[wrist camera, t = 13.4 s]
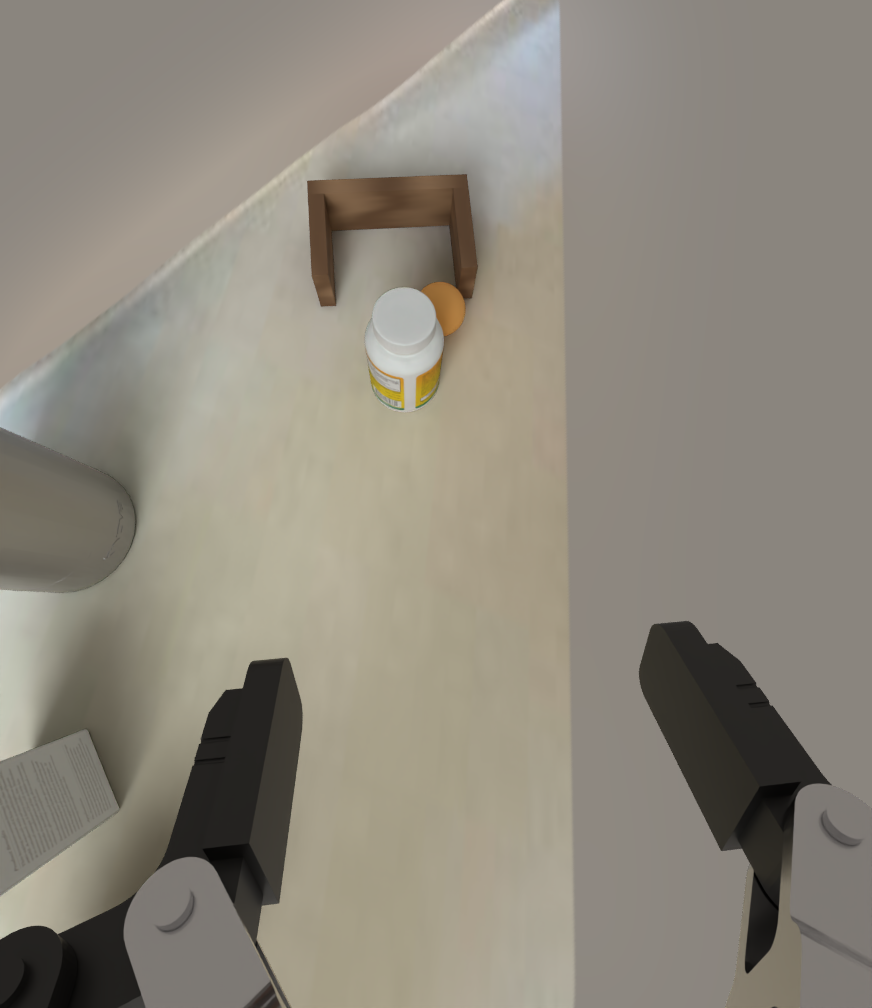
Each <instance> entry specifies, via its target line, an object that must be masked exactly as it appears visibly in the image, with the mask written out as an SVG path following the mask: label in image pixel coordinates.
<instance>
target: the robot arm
mask: <svg viewBox="0 0 872 1008" xmlns="http://www.w3.org/2000/svg"><path fill="white" fill-rule="evenodd" d="M134 532H135V514H134V508H133V505H132V502H131V500H130V497H129V496H128V494H127V493H126V491H125V490H124V488H123V487H122V486H121V485H120V484H119V483H118V482H117V481H116V480H115V479H114V478H112V477H110V476H108V475H106V474H105V473H103V472H101V471H98V470H96V469H94V468H92V467H89V466H87V465H85V464H82V463H80V462H78V461H76V460H73V459H71V458H69V457H67V456H65V455H63V454H60V453H58V452H56V451H53V450H51V449H49V448H47V447H44V446H42V445H40V444H37V443H35V442H33V441H31V440H28V439H26V438H24V437H21V436H19V435H17V434H15V433H12V432H10V431H8V430H5V429H3V428H1V427H0V590H13V591H33V592H55V593H65V592H74V591H78V590H82V589H85V588H88V587H91V586H92V585H94V584H96V583H98V582H100V581H102V580H103V579H104V578H106V577H107V576H108V575H109V574H111V573H112V572H113V571H114V570H115V569H116V568H117V567H118V565H119V564H120V563H121V562H122V561H123V559H124V558H125V556H126V554H127V552H128V550H129V549H130V546H131V543H132V540H133V537H134ZM639 679H640V685H641V689H642V692H643V694H644V697H645V699H646V701H647V703H648V705H649V707H650V709H651V711H652V713H653V715H654V717H655V719H656V721H657V723H658V725H659V727H660V729H661V731H662V733H663V735H664V737H665V739H666V741H667V743H668V745H669V747H670V749H671V751H672V753H673V755H674V757H675V759H676V761H677V763H678V765H679V767H680V769H681V771H682V773H683V775H684V777H685V779H686V781H687V783H688V785H689V787H690V789H691V791H692V793H693V795H694V797H695V799H696V801H697V803H698V805H699V807H700V809H701V811H702V813H703V815H704V817H705V819H706V821H707V823H708V825H709V827H710V829H711V831H712V833H713V835H714V837H715V839H716V841H717V843H718V845H719V848H720V849H721V851H726V850H733V849H743V851H744V853H745V855H746V857H747V859H748V860H749V862H750V864H749V866H748V870H747V875H746V876H747V877H746V885H745V893H744V894H745V895H744V903H743V911H742V920H741V929H740V930H741V931H740V938H739V947H738V957H737V965H736V972H735V978H734V982H733V986H732V989H731V991H730V994H729V996H728V999H727V1003H726V1006H725V1008H872V809H871V808H870V807H869V806H868V805H867V804H866V803H864V802H863V801H862V800H860V799H859V798H858V797H856V796H854V795H853V794H851V793H849V792H847V791H845V790H843V789H840V788H838V787H835V786H832V785H831V784H830V783H829V782H828V781H827V779H826V778H825V777H824V776H823V775H822V773H821V772H820V770H819V769H818V768H817V766H816V765H815V764H814V762H813V761H812V759H811V758H810V757H809V755H808V754H807V753H806V751H805V750H804V748H803V747H802V746H801V744H800V743H799V742H798V740H797V739H796V737H795V736H794V735H793V733H792V732H791V730H790V729H789V728H788V726H787V725H786V724H785V722H784V721H783V719H782V718H781V717H780V715H779V714H778V713H777V711H776V710H775V708H774V707H773V706H770V704H769V700H768V699H767V698H766V696H765V695H764V693H763V692H762V690H761V689H760V688H758V687H757V686H756V682H755V681H754V680H753V678H752V677H751V675H750V674H749V672H748V671H747V670H746V668H745V667H744V666H743V664H742V663H741V662H740V661H739V660H738V659H737V658H736V657H734V656H733V655H732V654H731V653H729V652H728V651H727V650H725V649H724V648H723V647H722V646H720V645H719V644H718V643H715V644H707V643H706V641H705V640H704V638H703V637H702V635H701V634H700V632H699V631H698V629H697V628H696V627H695V625H693V624H692V623H691V622H689V621H683V622H671V623H661V624H654V625H653V626H652V627H651V629H650V632H649V636H648V639H647V643H646V646H645V650H644V654H643V657H642V661H641V664H640V668H639ZM301 733H302V704H301V699H300V695H299V692H298V688H297V685H296V681H295V678H294V674H293V671H292V667H291V664H290V661H289V659H288V658H280V659H269V660H259V661H252V662H251V663H250V665H249V667H248V670H247V674H246V678H245V682H244V686H243V688H242V689H232V690H225V692H224V693H223V694H222V696H221V697H220V699H219V700H218V701H217V703H216V704H215V705H214V707H213V708H212V709H211V711H210V712H209V714H208V717H207V720H206V724H205V727H204V730H203V734H202V737H201V744H199V747H198V750H197V753H196V757H195V760H194V761H195V764H194V766H192V770H191V773H190V776H189V780H188V783H187V786H186V789H185V793H184V796H183V799H182V803H181V806H180V809H179V812H178V816H177V819H176V822H175V825H174V829H173V832H172V835H171V839H170V842H169V845H168V848H167V851H166V853H165V856H164V858H163V860H162V862H161V864H160V865H159V867H158V868H157V870H156V871H155V873H154V874H153V875H151V876H150V877H149V878H148V879H147V881H146V882H145V883H144V884H143V885H142V886H141V888H140V889H139V890H138V892H136V893H135V894H134V895H133V896H132V897H130V898H129V899H128V900H126V901H125V902H123V903H122V904H120V905H118V906H116V907H114V908H113V909H110V910H108V911H106V912H104V913H102V914H100V915H98V916H96V917H94V918H91V919H89V920H87V921H85V922H83V923H81V924H79V925H77V926H75V927H72V928H70V929H68V930H66V931H64V932H62V933H60V934H57V933H55V932H54V931H53V930H52V929H50V928H47V927H44V926H30V927H26V928H23V929H20V930H17V931H15V932H13V933H11V934H9V935H7V936H6V937H4V938H2V939H1V940H0V1008H292V1007H291V1005H290V1003H289V1001H288V999H287V997H286V995H285V993H284V991H283V989H282V987H281V985H280V983H279V981H278V979H277V977H276V975H275V973H274V971H273V969H272V967H271V965H270V963H269V961H268V959H267V957H266V955H265V953H264V951H263V949H262V947H261V945H260V944H259V942H258V940H257V932H258V926H259V919H260V913H261V907H262V905H270V904H278V903H279V900H280V892H281V885H282V877H283V870H284V862H285V854H286V847H287V839H288V832H289V824H290V817H291V809H292V801H293V794H294V786H295V779H296V771H297V764H298V756H299V748H300V741H301Z"/></svg>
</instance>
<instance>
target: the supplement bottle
mask: <svg viewBox="0 0 872 1008" xmlns="http://www.w3.org/2000/svg"><path fill="white" fill-rule="evenodd" d="M443 347H444V335H443V330H442V327H441V325H440V323H439V321H438V320H437V318H436V311H435V308H434V305H433V304H432V302H431V300H430V299H429V298H428V297H427V296H426V295H425V294H424V293H422V292H420V291H418V290H416V289H413V288H409V287H399V288H394V289H391V290H389V291H387V292H385V293H384V294H383V295H382V296H380V297H379V299H378V300H377V301H376V303H375V305H374V308H373V312H372V318H371V320H370V321H369V323H368V325H367V328H366V332H365V349H366V355H367V361H368V367H369V373H370V379H371V385H372V389H373V391H374V394H375V396H376V397H377V399H378V400H379V401H380V402H381V403H382V404H383V405H385V406H386V407H388V408H389V409H392V410H394V411H398V412H412V411H416V410H418V409H421V408H423V407H424V406H425V405H426V404H428V403H429V402H430V401H431V400H432V398H433V397H434V395H435V393H436V391H437V388H438V384H439V376H440V369H441V361H442V355H443Z"/></svg>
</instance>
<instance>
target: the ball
mask: <svg viewBox="0 0 872 1008" xmlns="http://www.w3.org/2000/svg"><path fill="white" fill-rule="evenodd" d="M420 292H422V293H424V294H425V295H426V296H427V297H428V298H429V299H430V300H431V302H432V304H433V305H434V308H435V311H436V318H437V320H438V321H439V323H440V325H441V327H442V330H443V335H444V336H447V335H449V334H451V333H453V332H455V331H456V330H457V329H458V328H459V327H460V325H461V324H462V322H463V319H464V316H465V302H464V299H463V296H462V295H461V293H460V292H459V290H458V289H457V288H455V287H454V286H453V285H451V284H449V283H445V282H434V283H431V284H429V285H427V286H426V287H424V288H423V289H422V290H421V291H420Z"/></svg>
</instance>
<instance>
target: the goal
mask: <svg viewBox="0 0 872 1008" xmlns="http://www.w3.org/2000/svg"><path fill="white" fill-rule="evenodd" d="M307 185H308V206H309V227H310V248H311V269H312V278H313V281H314V284H315V288H316V291H317V294H318V298H319V301H320V304H321V306H336V298H335V280H334V263H333V245H332V231H336V230H358V229H380V228H401V227H423V226H445V225H449V226H450V235H451V245H452V254H453V263H454V273H455V282H456V288H457V289H458V290H459V292H460V293H461V295H462V296H463V299H465V298H472V294H473V288H474V283H475V278H476V273H477V267H478V266H477V258H476V249H475V241H474V232H473V224H472V215H471V207H470V198H469V190H468V181H467V174H463V175H438V176H413V177H389V178H364V179H339V180H314V181H307Z"/></svg>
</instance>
